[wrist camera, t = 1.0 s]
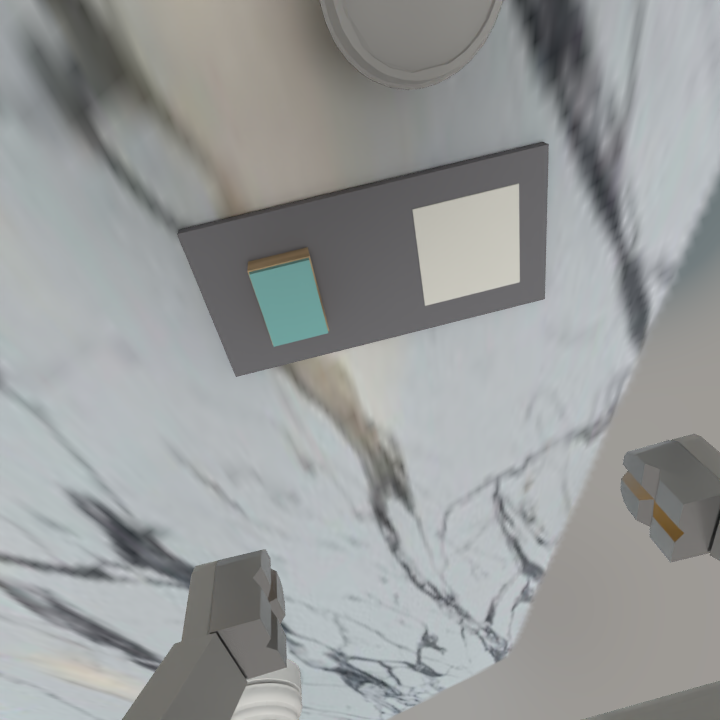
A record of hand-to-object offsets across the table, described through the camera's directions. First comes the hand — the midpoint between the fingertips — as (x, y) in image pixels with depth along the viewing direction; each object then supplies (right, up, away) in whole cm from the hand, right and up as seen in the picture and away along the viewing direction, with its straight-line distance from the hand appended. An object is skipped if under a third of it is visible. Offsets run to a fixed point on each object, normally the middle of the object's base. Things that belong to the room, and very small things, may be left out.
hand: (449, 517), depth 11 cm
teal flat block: (-8, +9, +32) cm, 34 cm away
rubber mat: (0, +12, +33) cm, 35 cm away
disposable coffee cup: (-1, +28, +22) cm, 36 cm away
